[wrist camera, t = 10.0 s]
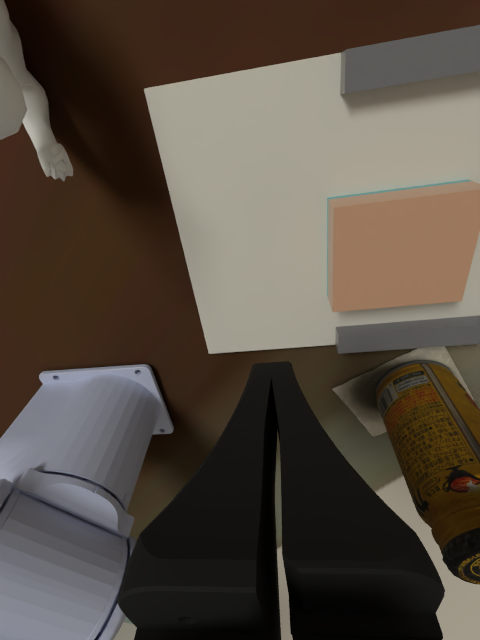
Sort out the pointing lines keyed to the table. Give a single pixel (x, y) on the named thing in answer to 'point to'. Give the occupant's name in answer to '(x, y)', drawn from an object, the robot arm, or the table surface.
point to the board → (315, 185)
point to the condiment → (429, 444)
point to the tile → (401, 245)
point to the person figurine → (26, 102)
